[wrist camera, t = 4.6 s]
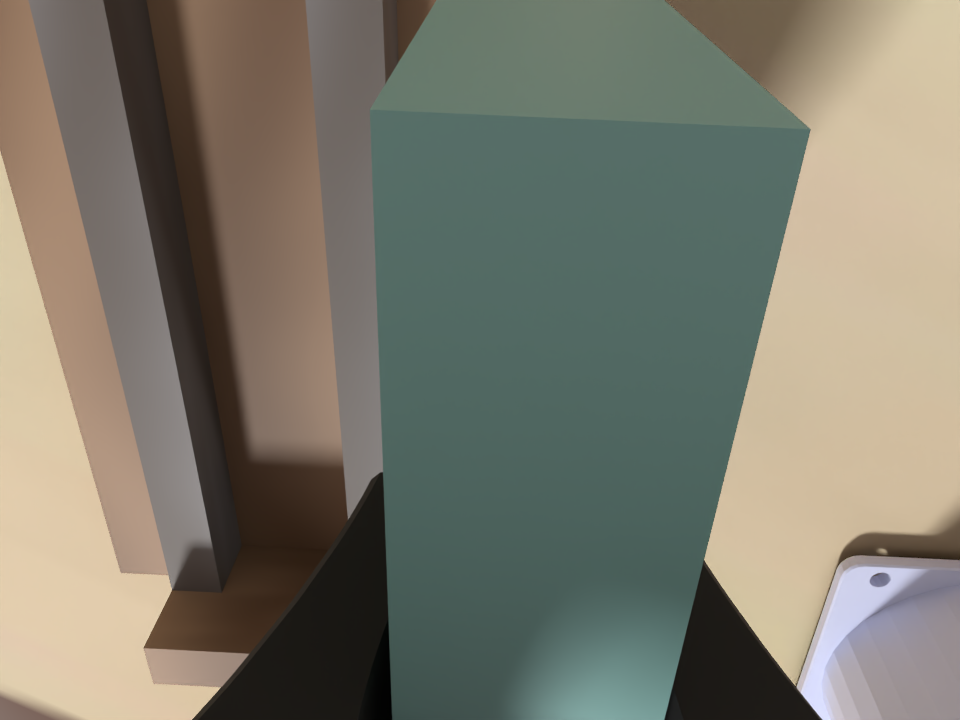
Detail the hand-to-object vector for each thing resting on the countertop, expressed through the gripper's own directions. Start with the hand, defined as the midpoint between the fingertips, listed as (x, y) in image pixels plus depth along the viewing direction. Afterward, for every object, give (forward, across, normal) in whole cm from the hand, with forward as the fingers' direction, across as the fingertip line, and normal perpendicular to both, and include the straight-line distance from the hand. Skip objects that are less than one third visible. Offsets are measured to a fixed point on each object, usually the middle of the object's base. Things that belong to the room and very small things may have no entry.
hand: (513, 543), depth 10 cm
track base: (+9, +5, 0) cm, 10 cm away
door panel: (+3, 0, 0) cm, 3 cm away
